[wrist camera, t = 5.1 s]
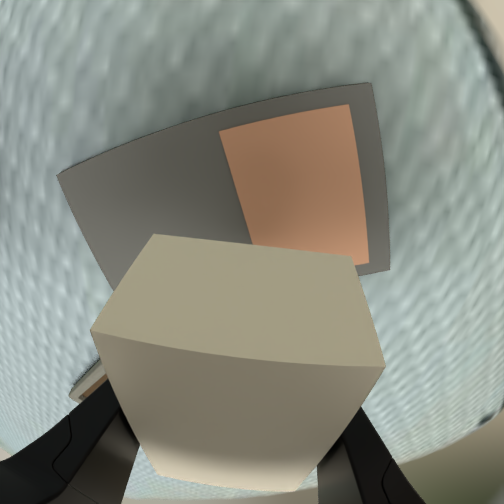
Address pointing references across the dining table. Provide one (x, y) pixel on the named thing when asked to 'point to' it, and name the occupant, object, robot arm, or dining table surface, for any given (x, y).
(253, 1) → the dining table surface
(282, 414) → the beige rectangular block
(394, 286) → the dining table surface
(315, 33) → the dining table surface
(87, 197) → the mat
